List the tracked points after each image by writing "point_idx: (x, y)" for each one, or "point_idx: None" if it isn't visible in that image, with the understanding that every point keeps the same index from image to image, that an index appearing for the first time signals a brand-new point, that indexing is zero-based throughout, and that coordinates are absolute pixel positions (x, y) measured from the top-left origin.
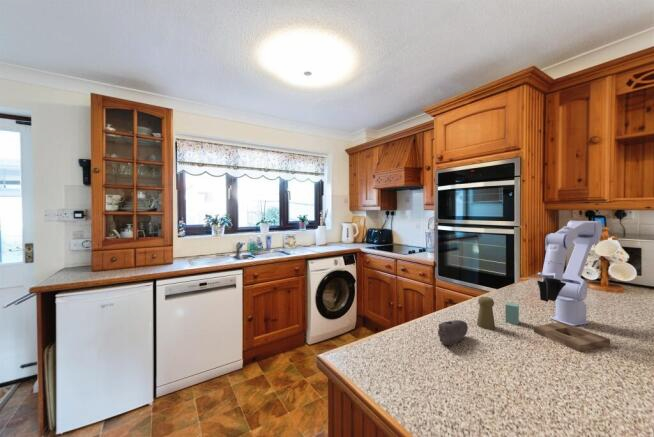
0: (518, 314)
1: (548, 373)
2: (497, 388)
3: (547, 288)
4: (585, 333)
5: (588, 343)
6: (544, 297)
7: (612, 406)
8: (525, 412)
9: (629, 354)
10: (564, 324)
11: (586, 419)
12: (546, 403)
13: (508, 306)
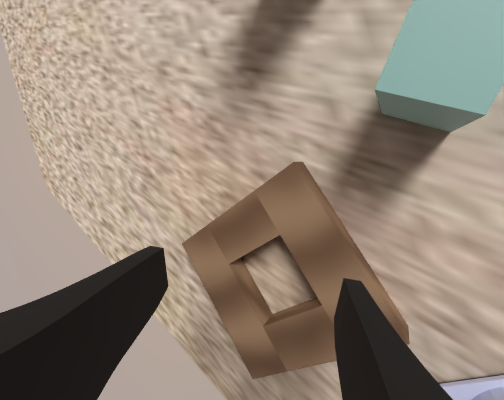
0: (426, 117)
1: (95, 113)
2: (39, 12)
3: (54, 295)
4: (278, 337)
5: (201, 279)
6: (341, 322)
7: (63, 174)
8: (21, 51)
9: (220, 359)
10: None
11: (36, 125)
12: (40, 83)
13: (408, 14)
